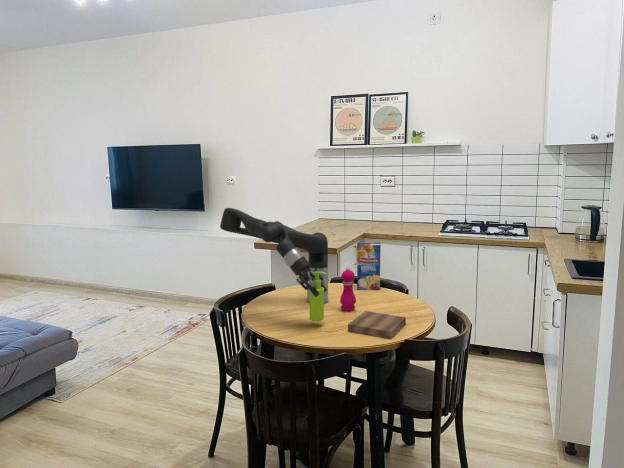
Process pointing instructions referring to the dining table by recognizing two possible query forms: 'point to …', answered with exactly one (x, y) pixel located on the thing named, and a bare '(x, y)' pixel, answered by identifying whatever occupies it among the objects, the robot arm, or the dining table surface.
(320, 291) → the soap dispenser
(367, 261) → the juice carton
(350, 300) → the pepper mill
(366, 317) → the walnut board
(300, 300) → the dining table surface
